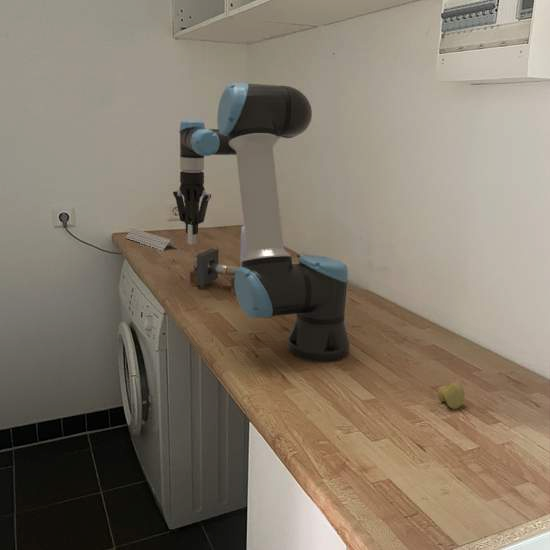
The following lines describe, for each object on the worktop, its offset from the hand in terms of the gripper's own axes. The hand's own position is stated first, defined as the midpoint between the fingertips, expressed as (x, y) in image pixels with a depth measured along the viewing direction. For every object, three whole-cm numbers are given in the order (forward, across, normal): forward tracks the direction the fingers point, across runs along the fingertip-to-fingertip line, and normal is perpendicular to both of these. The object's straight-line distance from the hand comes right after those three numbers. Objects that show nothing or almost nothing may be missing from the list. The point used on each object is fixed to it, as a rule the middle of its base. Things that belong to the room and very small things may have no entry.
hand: (191, 243), depth 188 cm
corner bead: (+15, +44, -41) cm, 62 cm away
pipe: (+9, -11, 0) cm, 14 cm away
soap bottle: (+14, -11, -27) cm, 32 cm away
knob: (+13, -89, +47) cm, 101 cm away
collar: (+12, -6, 0) cm, 13 cm away
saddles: (+13, -11, 0) cm, 17 cm away
